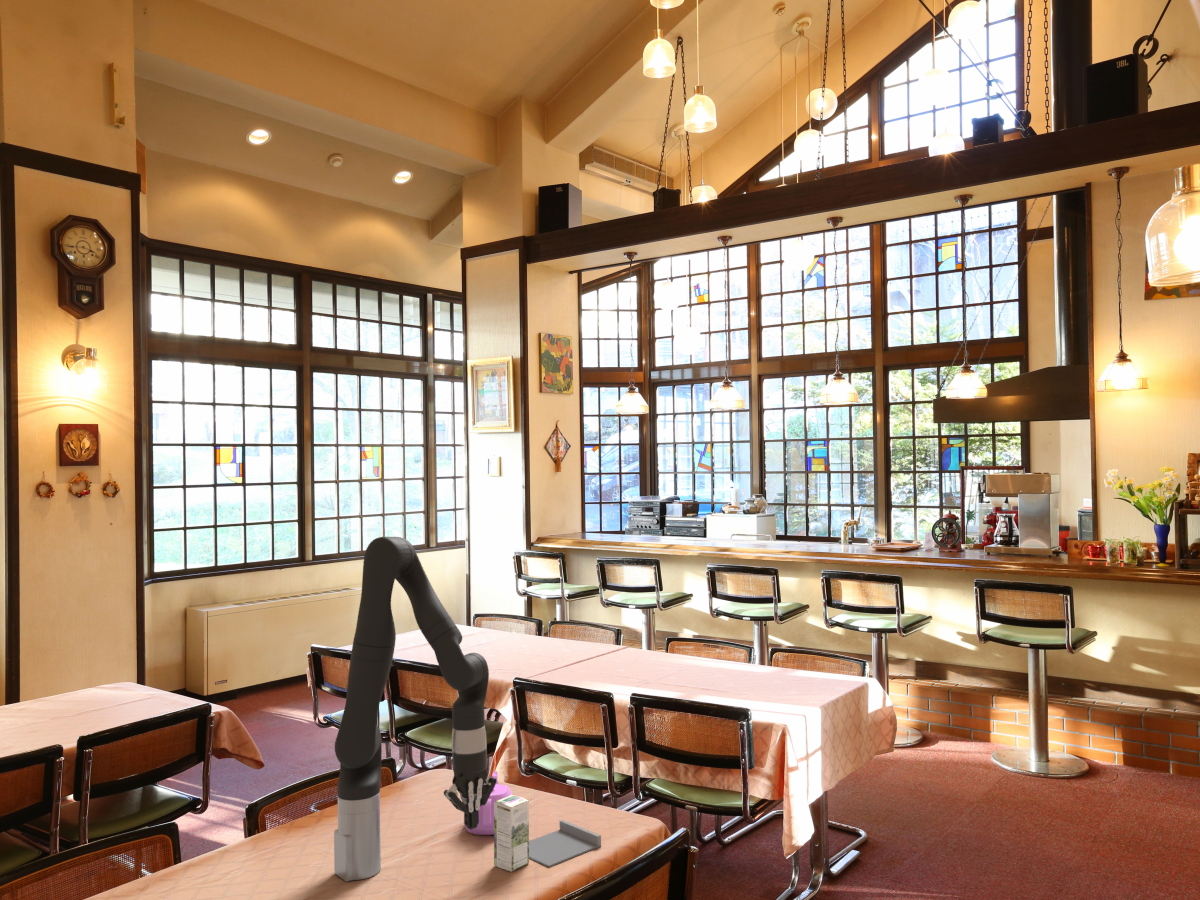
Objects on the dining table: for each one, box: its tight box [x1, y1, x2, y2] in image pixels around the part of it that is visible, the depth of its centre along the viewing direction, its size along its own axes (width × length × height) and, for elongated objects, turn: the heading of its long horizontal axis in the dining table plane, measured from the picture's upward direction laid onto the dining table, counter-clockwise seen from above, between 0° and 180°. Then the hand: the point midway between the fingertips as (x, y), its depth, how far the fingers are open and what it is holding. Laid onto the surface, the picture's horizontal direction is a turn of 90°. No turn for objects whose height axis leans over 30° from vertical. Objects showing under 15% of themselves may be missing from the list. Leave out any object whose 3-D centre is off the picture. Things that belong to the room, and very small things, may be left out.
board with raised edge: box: [529, 819, 602, 868], centre depth 203 cm, size 16×14×2 cm
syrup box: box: [493, 794, 530, 873], centre depth 195 cm, size 6×6×14 cm
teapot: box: [463, 771, 513, 836], centre depth 217 cm, size 13×20×11 cm
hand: (471, 827), depth 188 cm, fingers closed
